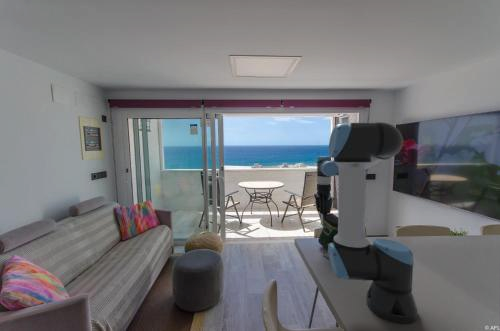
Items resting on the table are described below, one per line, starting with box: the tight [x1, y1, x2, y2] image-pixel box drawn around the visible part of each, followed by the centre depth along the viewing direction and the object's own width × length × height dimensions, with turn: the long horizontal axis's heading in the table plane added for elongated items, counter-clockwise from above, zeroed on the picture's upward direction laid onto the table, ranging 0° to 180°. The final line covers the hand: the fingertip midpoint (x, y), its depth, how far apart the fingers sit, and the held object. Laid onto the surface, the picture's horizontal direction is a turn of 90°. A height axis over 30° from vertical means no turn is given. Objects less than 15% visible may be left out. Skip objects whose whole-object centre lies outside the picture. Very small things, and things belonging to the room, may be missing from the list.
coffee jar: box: [318, 212, 338, 251], centre depth 124 cm, size 10×8×19 cm
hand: (323, 224), depth 128 cm, fingers closed
